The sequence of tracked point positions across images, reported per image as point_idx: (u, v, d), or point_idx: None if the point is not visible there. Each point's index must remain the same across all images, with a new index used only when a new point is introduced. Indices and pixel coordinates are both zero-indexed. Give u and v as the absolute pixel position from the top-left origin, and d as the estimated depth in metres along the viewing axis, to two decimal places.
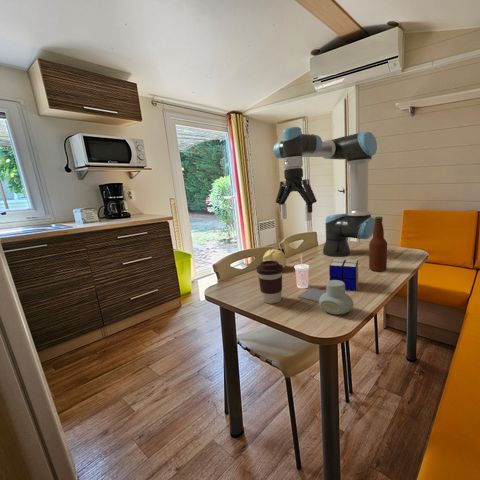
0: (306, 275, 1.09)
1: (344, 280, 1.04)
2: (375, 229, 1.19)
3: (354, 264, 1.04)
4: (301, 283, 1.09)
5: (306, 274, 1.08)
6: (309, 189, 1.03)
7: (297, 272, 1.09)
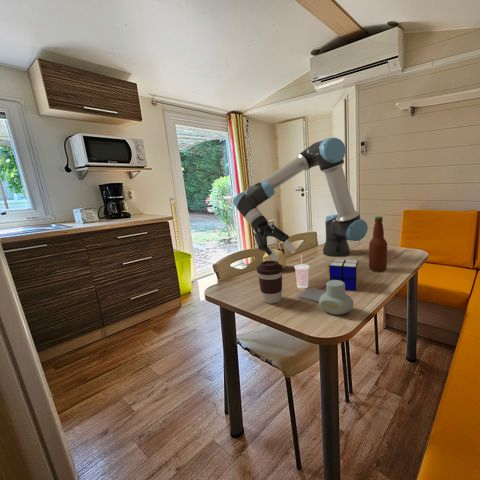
0: (306, 275, 1.09)
1: (344, 280, 1.04)
2: (375, 229, 1.19)
3: (354, 264, 1.04)
4: (301, 283, 1.09)
5: (306, 274, 1.08)
6: (257, 238, 1.12)
7: (297, 272, 1.09)
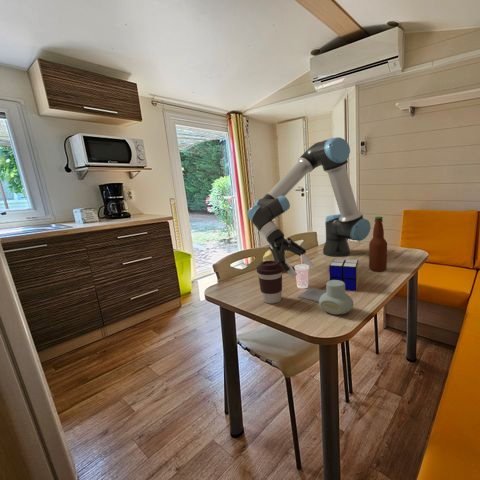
0: (306, 275, 1.09)
1: (344, 280, 1.04)
2: (375, 229, 1.19)
3: (354, 264, 1.04)
4: (301, 283, 1.09)
5: (306, 274, 1.08)
6: (274, 253, 1.08)
7: (297, 272, 1.09)
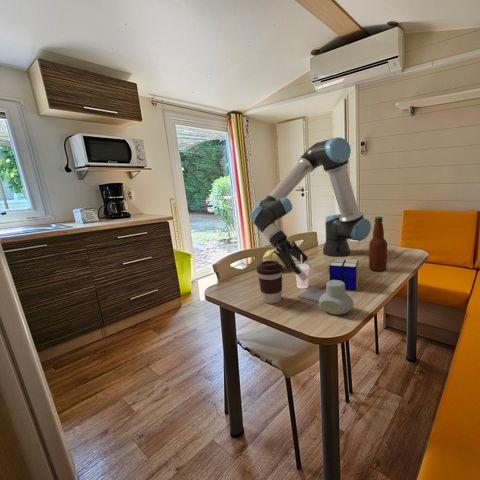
0: None
1: (344, 280, 1.04)
2: (375, 229, 1.19)
3: (354, 264, 1.04)
4: (301, 283, 1.09)
5: (306, 274, 1.08)
6: (281, 257, 1.08)
7: None
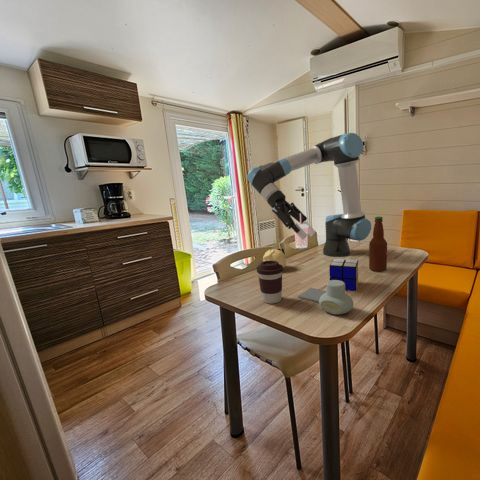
0: None
1: (344, 280, 1.04)
2: (375, 229, 1.19)
3: (354, 264, 1.04)
4: (300, 242, 1.06)
5: None
6: (280, 215, 1.05)
7: None
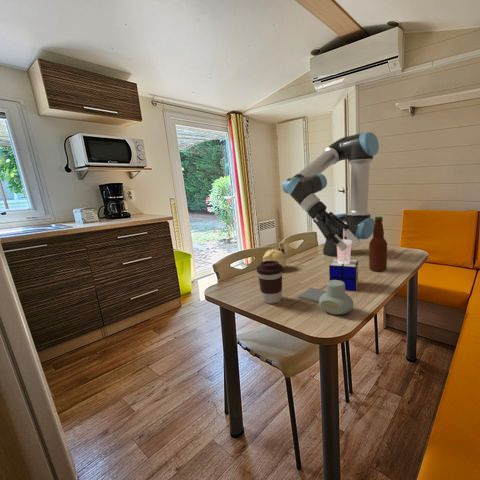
0: (349, 250, 1.04)
1: (344, 280, 1.04)
2: (375, 229, 1.19)
3: (354, 264, 1.04)
4: (343, 258, 1.05)
5: (349, 249, 1.04)
6: (320, 226, 1.03)
7: None
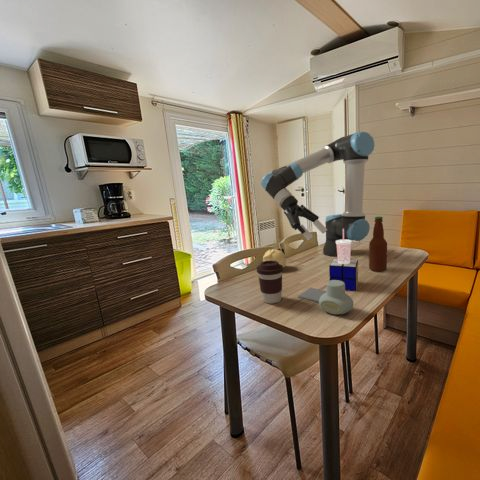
0: (349, 250, 1.04)
1: (344, 280, 1.04)
2: (375, 229, 1.19)
3: (354, 264, 1.04)
4: (342, 258, 1.05)
5: (349, 249, 1.04)
6: (289, 217, 1.11)
7: (339, 247, 1.04)
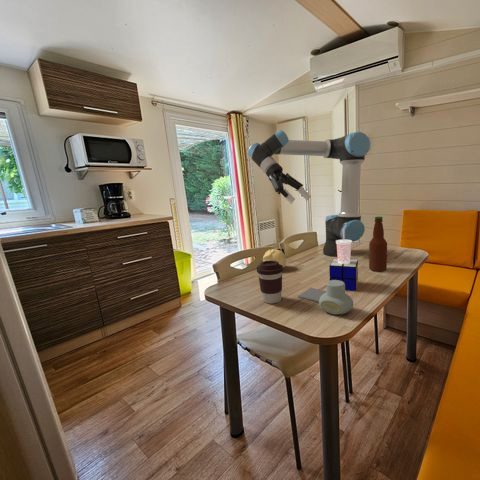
0: (349, 250, 1.04)
1: (344, 280, 1.04)
2: (375, 229, 1.19)
3: (354, 264, 1.04)
4: (342, 258, 1.05)
5: (349, 249, 1.04)
6: (273, 182, 1.15)
7: (339, 247, 1.05)
